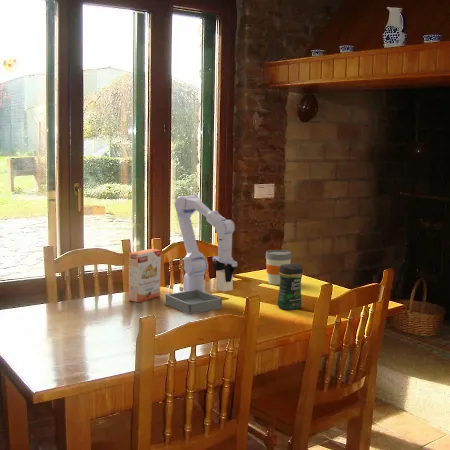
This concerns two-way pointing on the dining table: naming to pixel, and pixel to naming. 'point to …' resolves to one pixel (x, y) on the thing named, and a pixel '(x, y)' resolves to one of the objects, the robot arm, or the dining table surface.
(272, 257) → the reusable coffee cup
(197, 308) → the tray
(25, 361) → the dining table surface
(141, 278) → the cracker box
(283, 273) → the coffee jar
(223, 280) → the carton
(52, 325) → the dining table surface
